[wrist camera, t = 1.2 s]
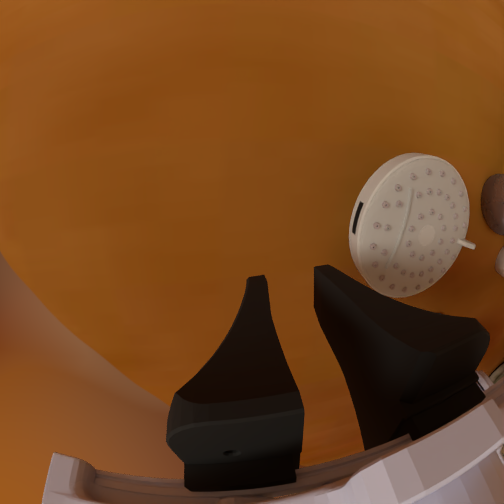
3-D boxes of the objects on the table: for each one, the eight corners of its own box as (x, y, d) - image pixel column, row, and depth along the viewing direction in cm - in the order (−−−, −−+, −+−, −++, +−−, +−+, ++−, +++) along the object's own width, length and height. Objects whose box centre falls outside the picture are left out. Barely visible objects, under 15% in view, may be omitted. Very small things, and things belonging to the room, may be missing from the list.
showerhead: (452, 305, 16) (343, 307, 15) (406, 261, 23) (308, 251, 21) (496, 184, 12) (391, 136, 11) (434, 162, 19) (334, 129, 17)
